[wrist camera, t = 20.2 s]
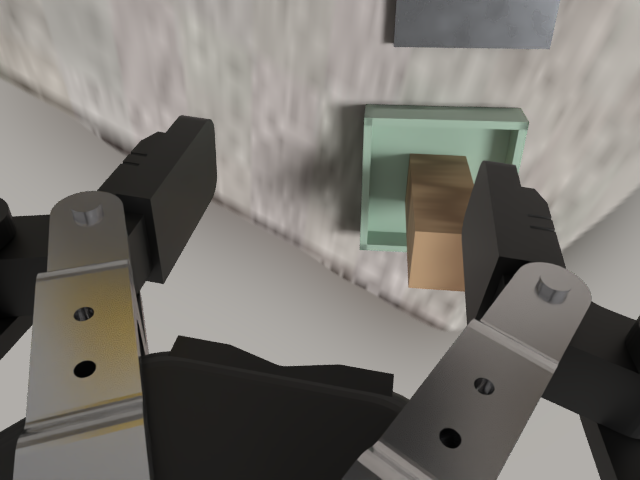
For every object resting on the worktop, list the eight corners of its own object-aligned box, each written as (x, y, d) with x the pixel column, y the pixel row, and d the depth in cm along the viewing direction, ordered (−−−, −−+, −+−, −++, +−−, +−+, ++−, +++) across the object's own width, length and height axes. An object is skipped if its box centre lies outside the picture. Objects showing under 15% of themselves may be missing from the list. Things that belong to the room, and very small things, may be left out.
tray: (361, 231, 49) (359, 249, 47) (365, 104, 43) (364, 117, 40) (495, 238, 48) (500, 257, 46) (520, 108, 42) (529, 122, 39)
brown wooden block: (404, 201, 46) (408, 287, 36) (409, 153, 44) (415, 231, 34) (458, 204, 46) (476, 292, 36) (466, 155, 43) (488, 235, 33)
